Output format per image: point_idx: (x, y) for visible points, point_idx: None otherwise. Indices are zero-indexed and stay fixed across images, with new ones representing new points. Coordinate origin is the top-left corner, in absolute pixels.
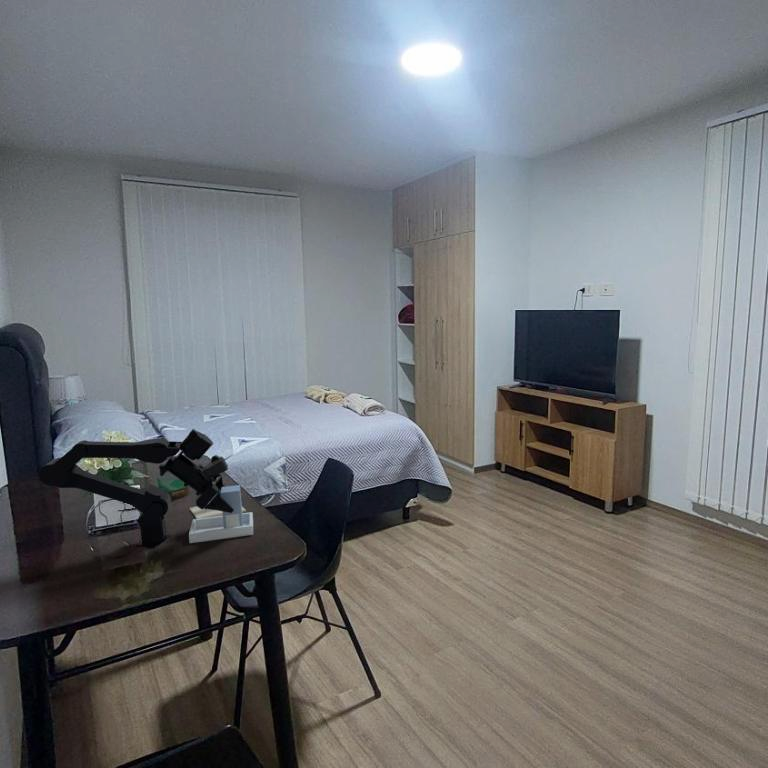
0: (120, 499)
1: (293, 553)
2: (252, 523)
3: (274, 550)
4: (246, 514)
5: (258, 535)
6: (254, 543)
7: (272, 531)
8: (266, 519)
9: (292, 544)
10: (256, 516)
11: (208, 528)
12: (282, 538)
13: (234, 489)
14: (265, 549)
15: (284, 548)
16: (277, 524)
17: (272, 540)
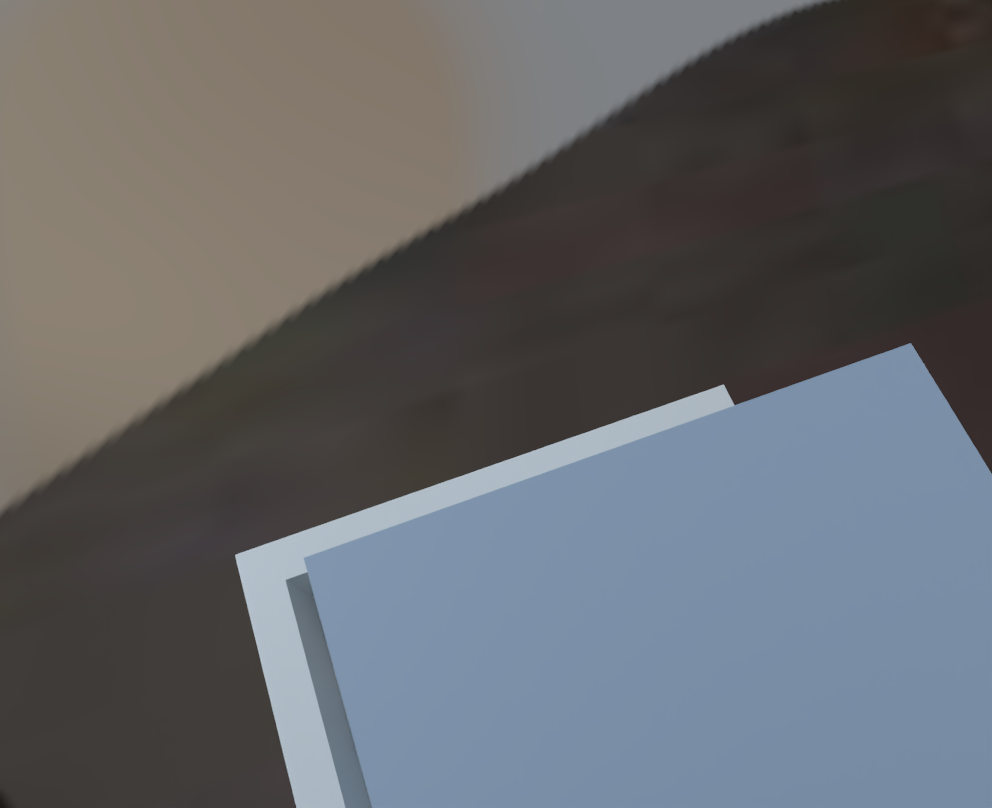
0: None
1: (956, 13)
2: (647, 411)
3: (944, 152)
4: (301, 626)
5: (659, 384)
6: (849, 362)
7: (550, 278)
8: (213, 437)
9: (803, 52)
10: (92, 598)
11: None
12: (700, 151)
13: (823, 582)
14: (946, 226)
15: (889, 90)
16: (370, 279)
17: (754, 221)
